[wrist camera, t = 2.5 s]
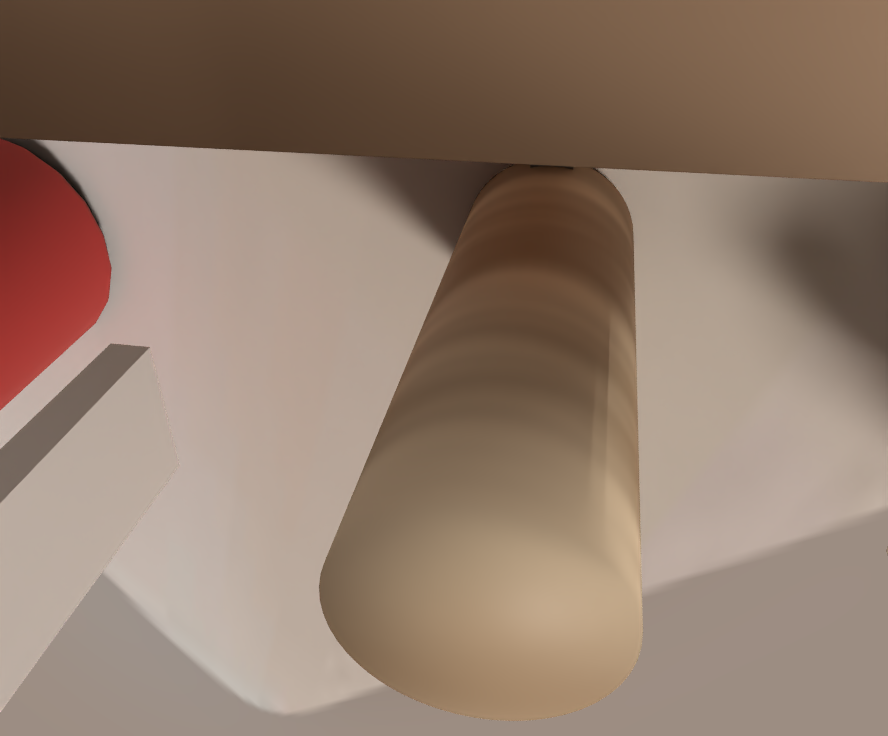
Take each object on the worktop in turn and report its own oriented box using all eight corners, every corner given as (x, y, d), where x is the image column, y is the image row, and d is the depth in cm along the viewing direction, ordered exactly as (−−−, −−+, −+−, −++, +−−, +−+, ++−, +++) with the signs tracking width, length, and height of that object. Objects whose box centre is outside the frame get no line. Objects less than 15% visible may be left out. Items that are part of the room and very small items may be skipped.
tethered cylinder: (417, -405, 14) (-92, -1012, 4) (778, -430, 13) (1285, -1322, 3) (434, 301, 22) (276, 684, 12) (658, 319, 21) (688, 753, 11)
